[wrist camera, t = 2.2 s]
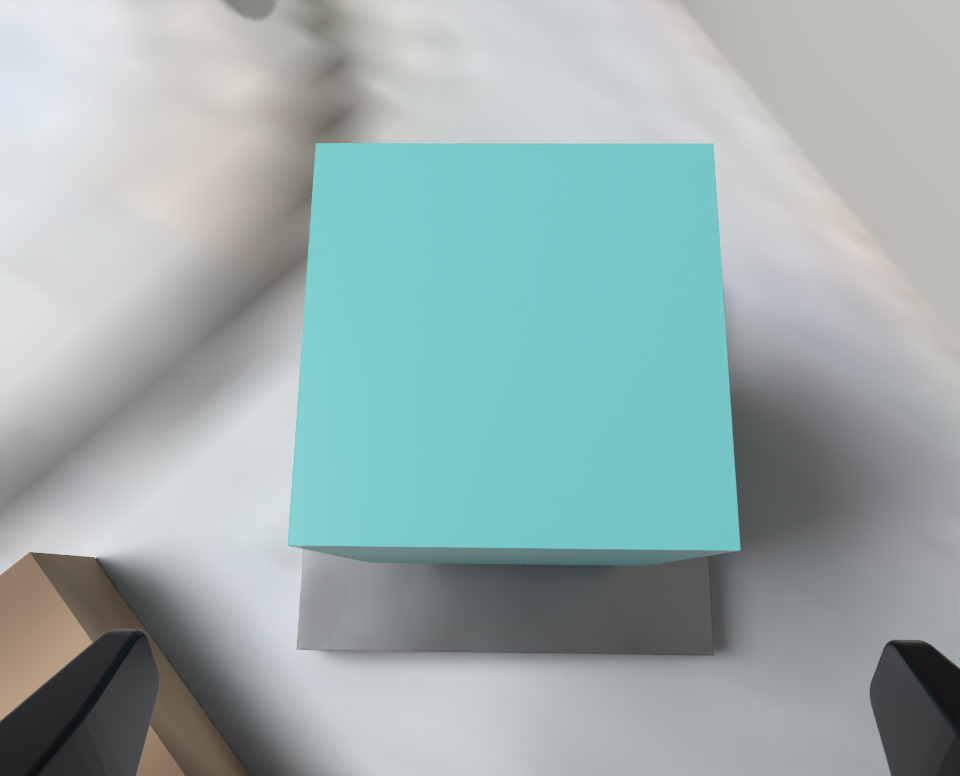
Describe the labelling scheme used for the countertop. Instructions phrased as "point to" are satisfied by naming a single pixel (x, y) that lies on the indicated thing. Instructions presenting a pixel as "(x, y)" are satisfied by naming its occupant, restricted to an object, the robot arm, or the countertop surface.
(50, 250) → the countertop surface
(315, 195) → the turquoise square block
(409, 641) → the post stand
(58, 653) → the board
